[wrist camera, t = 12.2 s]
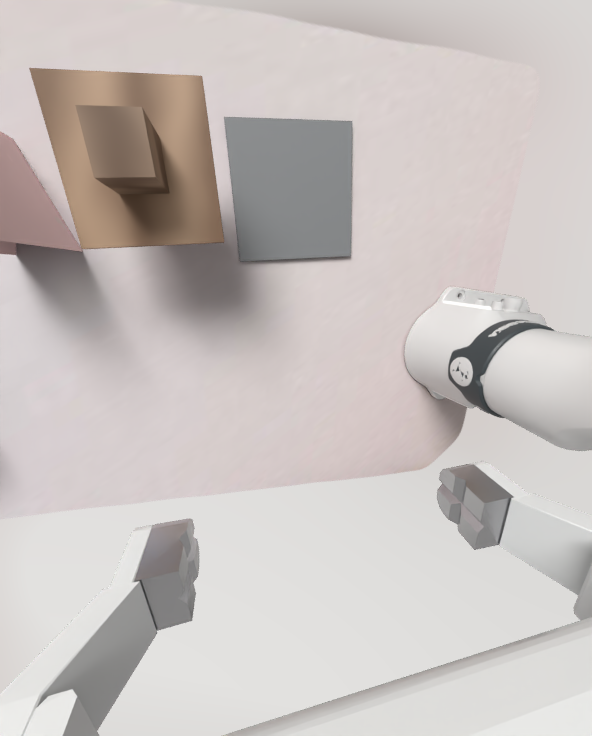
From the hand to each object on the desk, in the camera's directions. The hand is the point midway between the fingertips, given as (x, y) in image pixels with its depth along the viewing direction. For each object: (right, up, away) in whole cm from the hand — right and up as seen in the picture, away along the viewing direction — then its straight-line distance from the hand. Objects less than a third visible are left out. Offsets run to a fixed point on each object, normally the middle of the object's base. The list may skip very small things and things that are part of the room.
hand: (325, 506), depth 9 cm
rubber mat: (-1, +26, +26) cm, 37 cm away
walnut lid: (-14, +21, +15) cm, 29 cm away
